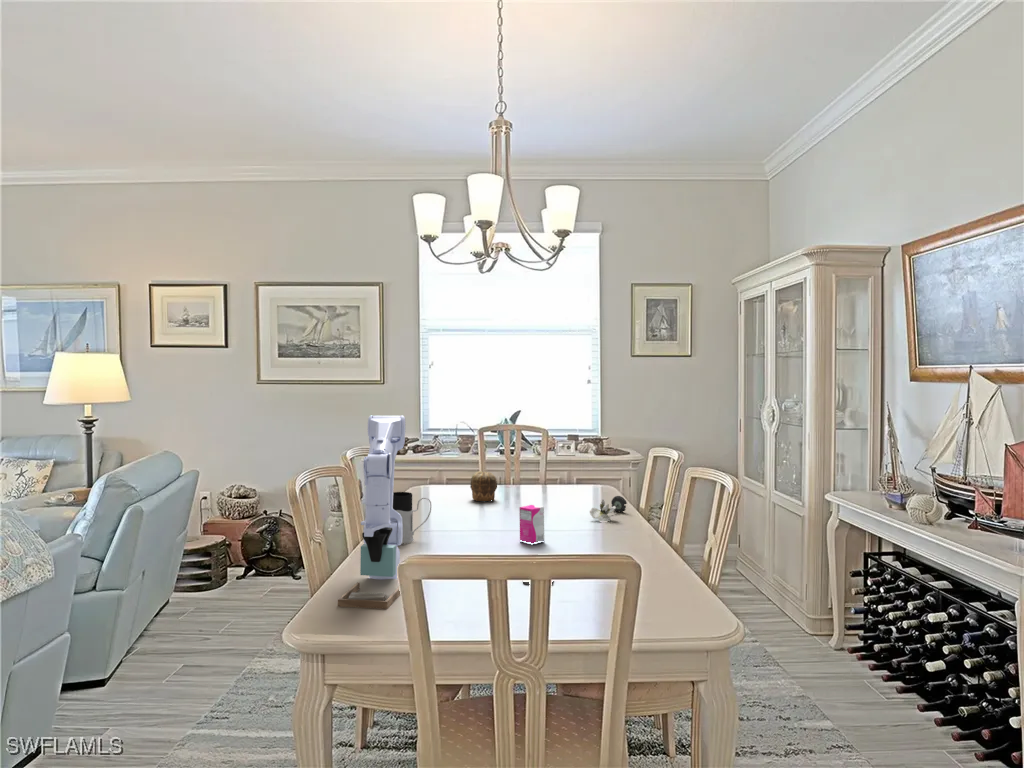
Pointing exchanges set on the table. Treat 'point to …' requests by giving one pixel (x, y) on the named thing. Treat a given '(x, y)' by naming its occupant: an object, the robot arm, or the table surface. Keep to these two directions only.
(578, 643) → the table surface
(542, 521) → the supplement box
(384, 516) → the robot arm
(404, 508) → the glass holder
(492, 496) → the brown muffin
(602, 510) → the artificial flower
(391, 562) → the teal board
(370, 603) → the brown shallow rectangular tray
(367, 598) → the grey offcut
